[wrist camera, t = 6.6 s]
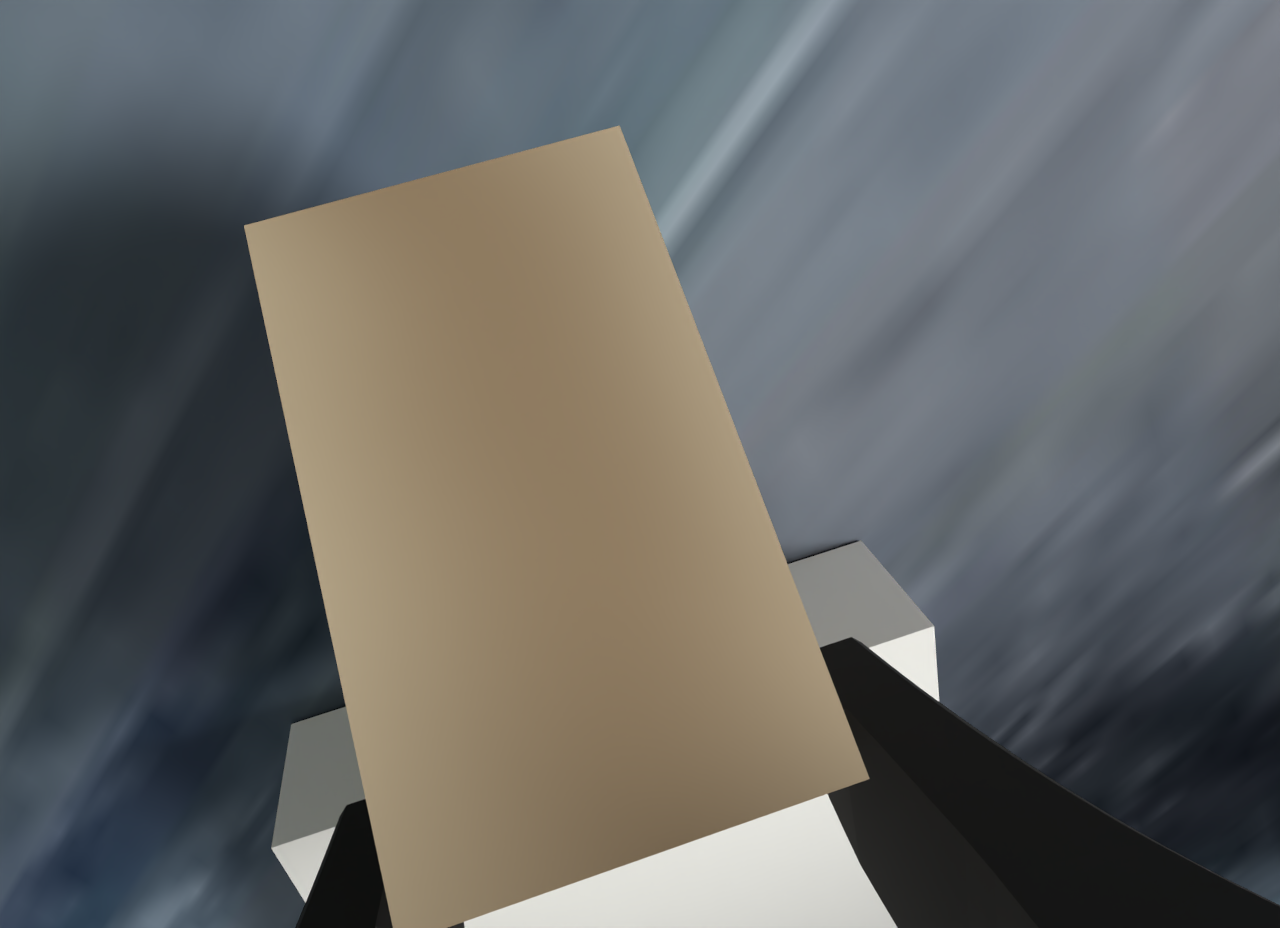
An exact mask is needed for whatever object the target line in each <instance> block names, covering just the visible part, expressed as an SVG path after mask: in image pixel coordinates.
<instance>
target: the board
mask: <svg viewBox="0 0 1280 928" xmlns="http://www.w3.org/2000/svg"><path fill="white" fill-rule="evenodd" d="M788 567H789V569H790V572H791V575H792V577H793V580H794V582H795V585H796V588H797V590H798V593H799V595H800V598H801V601H802V603H803V606H804V609H805V611H806V614H807V616H808V619H809V622H810V624H811V627H812V629H813V632H814V635H815V637H816V640H817V642H818V645H819V648H820V647H823V646H826V645H829V644H832V643H835V642H838V641H841V640H844V639H847V638H850V637H852V638H854V639H856V640H858V641H860V642H862V643H863V644H864V645H866V646H867V647H868V648H869V649H871V650H872V651H873V652H874V653H876V654H877V655H878V656H879V657H881V658H882V659H883V660H884V661H886V662H887V663H888V664H890V665H891V666H892V667H893V668H895V669H896V670H897V671H899V672H900V673H901V674H902V675H904V676H905V677H906V678H908V679H909V680H910V681H912V682H913V683H914V684H916V685H917V686H918V687H920V688H921V689H922V690H924V691H925V692H926V693H928V694H929V695H930V696H932V697H933V698H934V699H936V700H937V701H939V690H938V676H937V662H936V647H935V633H934V625H933V624H932V623H931V622H930V621H929V620H928V618H927V617H926V616H925V615H924V614H923V613H922V611H921V610H920V609H919V608H918V607H917V606H916V604H915V603H914V602H913V601H912V600H911V598H910V597H909V596H908V595H907V594H906V593H905V591H904V590H903V589H902V588H901V587H900V586H899V584H898V583H897V582H896V581H895V580H894V579H893V577H892V576H891V575H890V574H889V573H888V572H887V570H886V569H885V568H884V567H883V566H882V564H881V563H880V562H879V561H878V560H877V559H876V557H875V556H874V555H873V554H872V553H871V552H870V550H869V549H868V548H867V547H866V546H865V545H864V543H863V542H862V541H858V542H855V543H852V544H849V545H846V546H843V547H840V548H837V549H833V550H830V551H827V552H824V553H821V554H818V555H815V556H812V557H809V558H806V559H802V560H799V561H796V562H793V563H790V564H788ZM363 799H365V794H364V789H363V784H362V780H361V775H360V770H359V766H358V761H357V756H356V751H355V747H354V742H353V737H352V733H351V728H350V723H349V718H348V714H347V709H346V707H343V708H340V709H337V710H334V711H331V712H327V713H324V714H321V715H318V716H315V717H312V718H309V719H306V720H303V721H299V722H296V723H293V724H291V729H290V735H289V741H288V747H287V753H286V760H285V766H284V772H283V778H282V784H281V791H280V797H279V803H278V809H277V815H276V821H275V828H274V834H273V840H272V846H271V849H272V850H273V852H274V853H275V855H276V857H277V858H278V860H279V861H280V863H281V865H282V866H283V868H284V869H285V871H286V872H287V874H288V876H289V877H290V879H291V880H292V882H293V884H294V885H295V887H296V888H297V890H298V892H299V893H300V895H301V896H302V898H303V900H304V901H305V903H306V901H307V898H308V896H309V893H310V891H311V888H312V886H313V883H314V881H315V878H316V876H317V873H318V871H319V868H320V866H321V863H322V861H323V858H324V855H325V853H326V850H327V848H328V845H329V843H330V840H331V837H332V835H333V832H334V830H335V827H336V825H337V822H338V819H339V817H340V815H341V813H342V812H343V810H344V808H345V807H346V805H348V804H351V803H354V802H357V801H360V800H363ZM464 927H465V928H897V926H896V924H895V923H894V921H893V919H892V918H891V916H890V914H889V913H888V911H887V909H886V907H885V906H884V904H883V902H882V901H881V899H880V897H879V896H878V894H877V892H876V891H875V889H874V887H873V886H872V884H871V882H870V880H869V879H868V877H867V875H866V874H865V872H864V870H863V869H862V867H861V865H860V863H859V861H858V859H857V857H856V855H855V853H854V850H853V848H852V846H851V844H850V842H849V840H848V838H847V836H846V833H845V831H844V829H843V827H842V825H841V823H840V821H839V818H838V816H837V814H836V812H835V810H834V807H833V805H832V803H831V801H830V799H829V796H828V794H825V795H823V796H820V797H817V798H814V799H811V800H808V801H806V802H803V803H800V804H797V805H794V806H791V807H789V808H786V809H783V810H780V811H777V812H774V813H771V814H769V815H766V816H763V817H760V818H757V819H754V820H752V821H749V822H746V823H743V824H740V825H737V826H735V827H732V828H729V829H726V830H723V831H720V832H718V833H715V834H712V835H709V836H706V837H703V838H700V839H698V840H695V841H692V842H689V843H686V844H683V845H681V846H678V847H675V848H672V849H669V850H666V851H664V852H661V853H658V854H655V855H652V856H649V857H647V858H644V859H641V860H638V861H635V862H632V863H629V864H627V865H624V866H621V867H618V868H615V869H612V870H610V871H607V872H604V873H601V874H598V875H595V876H593V877H590V878H587V879H584V880H581V881H578V882H576V883H573V884H570V885H567V886H564V887H561V888H559V889H556V890H553V891H550V892H547V893H544V894H541V895H539V896H536V897H533V898H530V899H527V900H524V901H522V902H519V903H516V904H513V905H510V906H507V907H505V908H502V909H499V910H496V911H493V912H490V913H488V914H485V915H482V916H479V917H476V918H473V919H470V920H468V921H465V922H464Z"/></svg>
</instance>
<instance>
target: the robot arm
mask: <svg viewBox="0 0 1280 928" xmlns="http://www.w3.org/2000/svg"><path fill="white" fill-rule="evenodd" d="M820 650H821V653H822V656H823V658H824V661H825V663H826V666H827V669H828V671H829V674H830V676H831V679H832V682H833V684H834V687H835V689H836V692H837V695H838V697H839V700H840V703H841V705H842V708H843V710H844V713H845V716H846V718H847V721H848V723H849V726H850V729H851V731H852V734H853V736H854V739H855V742H856V744H857V747H858V750H859V752H860V755H861V757H862V760H863V763H864V765H865V768H866V770H867V773H868V776H869V778H870V779H868V780H865V781H862V782H859V783H857V784H854V785H851V786H848V787H845V788H842V789H840V790H837V791H834V792H831V793H828V796H829V799H830V801H831V803H832V805H833V807H834V810H835V812H836V814H837V816H838V818H839V821H840V823H841V825H842V827H843V829H844V831H845V833H846V836H847V838H848V840H849V842H850V844H851V846H852V848H853V850H854V853H855V855H856V857H857V859H858V861H859V863H860V865H861V867H862V869H863V870H864V872H865V874H866V875H867V877H868V879H869V880H870V882H871V884H872V886H873V887H874V889H875V891H876V892H877V894H878V896H879V897H880V899H881V901H882V902H883V904H884V906H885V907H886V909H887V911H888V913H889V914H890V916H891V918H892V919H893V921H894V923H895V924H896V926H897V928H1280V905H1278V904H1276V903H1274V902H1272V901H1270V900H1268V899H1266V898H1264V897H1262V896H1260V895H1258V894H1256V893H1254V892H1252V891H1250V890H1248V889H1246V888H1244V887H1242V886H1240V885H1238V884H1236V883H1234V882H1232V881H1230V880H1228V879H1226V878H1224V877H1222V876H1220V875H1218V874H1216V873H1214V872H1212V871H1210V870H1208V869H1207V868H1205V867H1203V866H1201V865H1199V864H1197V863H1195V862H1193V861H1192V860H1190V859H1188V858H1186V857H1184V856H1182V855H1180V854H1178V853H1177V852H1175V851H1173V850H1171V849H1169V848H1167V847H1165V846H1164V845H1162V844H1160V843H1158V842H1156V841H1155V840H1153V839H1151V838H1149V837H1148V836H1146V835H1144V834H1142V833H1140V832H1139V831H1137V830H1135V829H1134V828H1132V827H1130V826H1128V825H1127V824H1125V823H1123V822H1121V821H1120V820H1118V819H1116V818H1115V817H1113V816H1111V815H1109V814H1108V813H1106V812H1105V811H1103V810H1101V809H1100V808H1098V807H1096V806H1095V805H1093V804H1091V803H1090V802H1088V801H1087V800H1085V799H1083V798H1082V797H1080V796H1078V795H1077V794H1075V793H1073V792H1072V791H1070V790H1068V789H1067V788H1065V787H1064V786H1062V785H1060V784H1059V783H1057V782H1056V781H1054V780H1053V779H1051V778H1049V777H1048V776H1046V775H1045V774H1043V773H1042V772H1040V771H1039V770H1037V769H1035V768H1034V767H1032V766H1031V765H1029V764H1028V763H1026V762H1025V761H1023V760H1022V759H1020V758H1019V757H1017V756H1016V755H1014V754H1013V753H1011V752H1010V751H1009V750H1007V749H1006V748H1004V747H1003V746H1001V745H1000V744H998V743H997V742H995V741H994V740H992V739H991V738H989V737H988V736H986V735H985V734H983V733H982V732H981V731H979V730H978V729H976V728H975V727H973V726H972V725H970V724H969V723H968V722H966V721H965V720H963V719H962V718H961V717H959V716H958V715H956V714H955V713H954V712H952V711H951V710H949V709H948V708H947V707H945V706H944V705H943V704H941V703H940V702H939V701H937V700H936V699H934V698H933V697H932V696H930V695H929V694H928V693H926V692H925V691H924V690H922V689H921V688H920V687H918V686H917V685H916V684H914V683H913V682H912V681H910V680H909V679H908V678H906V677H905V676H904V675H902V674H901V673H900V672H899V671H897V670H896V669H895V668H893V667H892V666H891V665H890V664H888V663H887V662H886V661H884V660H883V659H882V658H881V657H879V656H878V655H877V654H876V653H874V652H873V651H872V650H871V649H869V648H868V647H867V646H866V645H864V644H863V643H862V642H860V641H858V640H856V639H854V638H852V637H850V638H847V639H844V640H841V641H838V642H835V643H832V644H829V645H826V646H823V647H820ZM296 928H393V926H392V921H391V916H390V912H389V907H388V902H387V898H386V893H385V888H384V883H383V879H382V874H381V869H380V865H379V860H378V855H377V850H376V846H375V841H374V836H373V832H372V827H371V822H370V817H369V813H368V808H367V803H366V799H363V800H360V801H357V802H354V803H351V804H348V805H346V807H345V808H344V810H343V812H342V813H341V815H340V817H339V819H338V822H337V825H336V827H335V830H334V832H333V835H332V837H331V840H330V843H329V845H328V848H327V850H326V853H325V855H324V858H323V861H322V863H321V866H320V868H319V871H318V873H317V876H316V878H315V881H314V883H313V886H312V888H311V891H310V893H309V896H308V898H307V901H306V903H305V906H304V908H303V911H302V913H301V915H300V918H299V920H298V923H297V925H296ZM448 928H465V927H464V922H462V923H459V924H456V925H453V926H451V927H448Z"/></svg>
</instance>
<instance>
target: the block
mask: <svg viewBox="0 0 1280 928" xmlns="http://www.w3.org/2000/svg"><path fill="white" fill-rule="evenodd" d="M244 228H245V233H246V238H247V242H248V247H249V252H250V256H251V261H252V266H253V271H254V275H255V280H256V285H257V289H258V294H259V299H260V304H261V308H262V313H263V318H264V322H265V327H266V332H267V337H268V341H269V346H270V351H271V355H272V360H273V365H274V370H275V374H276V379H277V384H278V388H279V393H280V398H281V403H282V407H283V412H284V417H285V421H286V426H287V431H288V436H289V440H290V445H291V450H292V454H293V459H294V464H295V469H296V473H297V478H298V483H299V487H300V492H301V497H302V502H303V506H304V511H305V516H306V520H307V525H308V530H309V535H310V539H311V544H312V549H313V553H314V558H315V563H316V568H317V572H318V577H319V582H320V586H321V591H322V596H323V601H324V605H325V610H326V615H327V619H328V624H329V629H330V634H331V638H332V643H333V648H334V652H335V657H336V662H337V667H338V671H339V676H340V681H341V685H342V690H343V695H344V700H345V704H346V709H347V714H348V718H349V723H350V728H351V733H352V737H353V742H354V747H355V751H356V756H357V761H358V766H359V770H360V775H361V780H362V784H363V789H364V794H365V799H366V803H367V808H368V813H369V817H370V822H371V827H372V832H373V836H374V841H375V846H376V850H377V855H378V860H379V865H380V869H381V874H382V879H383V883H384V888H385V893H386V898H387V902H388V907H389V912H390V916H391V921H392V926H393V928H448V927H451V926H453V925H456V924H459V923H462V922H465V921H468V920H470V919H473V918H476V917H479V916H482V915H485V914H488V913H490V912H493V911H496V910H499V909H502V908H505V907H507V906H510V905H513V904H516V903H519V902H522V901H524V900H527V899H530V898H533V897H536V896H539V895H541V894H544V893H547V892H550V891H553V890H556V889H559V888H561V887H564V886H567V885H570V884H573V883H576V882H578V881H581V880H584V879H587V878H590V877H593V876H595V875H598V874H601V873H604V872H607V871H610V870H612V869H615V868H618V867H621V866H624V865H627V864H629V863H632V862H635V861H638V860H641V859H644V858H647V857H649V856H652V855H655V854H658V853H661V852H664V851H666V850H669V849H672V848H675V847H678V846H681V845H683V844H686V843H689V842H692V841H695V840H698V839H700V838H703V837H706V836H709V835H712V834H715V833H718V832H720V831H723V830H726V829H729V828H732V827H735V826H737V825H740V824H743V823H746V822H749V821H752V820H754V819H757V818H760V817H763V816H766V815H769V814H771V813H774V812H777V811H780V810H783V809H786V808H789V807H791V806H794V805H797V804H800V803H803V802H806V801H808V800H811V799H814V798H817V797H820V796H823V795H825V794H828V793H831V792H834V791H837V790H840V789H842V788H845V787H848V786H851V785H854V784H857V783H859V782H862V781H865V780H868V779H870V778H869V776H868V773H867V770H866V768H865V765H864V763H863V760H862V757H861V755H860V752H859V750H858V747H857V744H856V742H855V739H854V736H853V734H852V731H851V729H850V726H849V723H848V721H847V718H846V716H845V713H844V710H843V708H842V705H841V703H840V700H839V697H838V695H837V692H836V689H835V687H834V684H833V682H832V679H831V676H830V674H829V671H828V669H827V666H826V663H825V661H824V658H823V656H822V653H821V650H820V648H819V645H818V642H817V640H816V637H815V635H814V632H813V629H812V627H811V624H810V622H809V619H808V616H807V614H806V611H805V609H804V606H803V603H802V601H801V598H800V595H799V593H798V590H797V588H796V585H795V582H794V580H793V577H792V575H791V572H790V569H789V567H788V564H787V562H786V559H785V556H784V554H783V551H782V549H781V546H780V543H779V541H778V538H777V535H776V533H775V530H774V528H773V525H772V522H771V520H770V517H769V515H768V512H767V509H766V507H765V504H764V502H763V499H762V496H761V494H760V491H759V488H758V486H757V483H756V481H755V478H754V475H753V473H752V470H751V468H750V465H749V462H748V460H747V457H746V455H745V452H744V449H743V447H742V444H741V441H740V439H739V436H738V434H737V431H736V428H735V426H734V423H733V421H732V418H731V415H730V413H729V410H728V408H727V405H726V402H725V400H724V397H723V394H722V392H721V389H720V387H719V384H718V381H717V379H716V376H715V374H714V371H713V368H712V366H711V363H710V361H709V358H708V355H707V353H706V350H705V347H704V345H703V342H702V340H701V337H700V334H699V332H698V329H697V327H696V324H695V321H694V319H693V316H692V314H691V311H690V308H689V306H688V303H687V301H686V298H685V295H684V293H683V290H682V287H681V285H680V282H679V280H678V277H677V274H676V272H675V269H674V267H673V264H672V261H671V259H670V256H669V254H668V251H667V248H666V246H665V243H664V240H663V238H662V235H661V233H660V230H659V227H658V225H657V222H656V220H655V217H654V214H653V212H652V209H651V207H650V204H649V201H648V199H647V196H646V193H645V191H644V188H643V186H642V183H641V180H640V178H639V175H638V173H637V170H636V167H635V165H634V162H633V160H632V157H631V154H630V152H629V149H628V146H627V144H626V141H625V139H624V136H623V133H622V131H621V128H620V126H616V127H613V128H609V129H605V130H601V131H597V132H594V133H590V134H586V135H582V136H579V137H575V138H571V139H567V140H564V141H560V142H556V143H552V144H549V145H545V146H541V147H537V148H534V149H530V150H526V151H522V152H519V153H515V154H511V155H507V156H504V157H500V158H496V159H492V160H488V161H485V162H481V163H477V164H473V165H470V166H466V167H462V168H458V169H455V170H451V171H447V172H443V173H440V174H436V175H432V176H428V177H425V178H421V179H417V180H413V181H410V182H406V183H402V184H398V185H395V186H391V187H387V188H383V189H379V190H376V191H372V192H368V193H364V194H361V195H357V196H353V197H349V198H346V199H342V200H338V201H334V202H331V203H327V204H323V205H319V206H316V207H312V208H308V209H304V210H301V211H297V212H293V213H289V214H286V215H282V216H278V217H274V218H270V219H267V220H263V221H259V222H255V223H252V224H248V225H244Z"/></svg>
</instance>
